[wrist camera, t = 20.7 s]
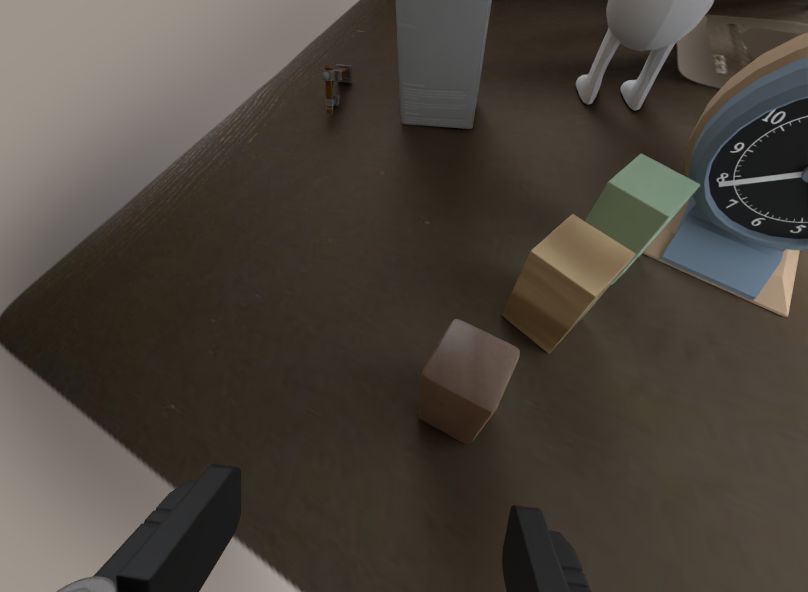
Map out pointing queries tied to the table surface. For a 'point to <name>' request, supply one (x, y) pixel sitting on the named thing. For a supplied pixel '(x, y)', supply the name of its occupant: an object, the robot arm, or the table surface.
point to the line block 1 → (564, 281)
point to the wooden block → (465, 380)
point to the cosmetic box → (440, 60)
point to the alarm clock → (748, 184)
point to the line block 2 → (640, 204)
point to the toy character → (641, 41)
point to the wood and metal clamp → (330, 76)
